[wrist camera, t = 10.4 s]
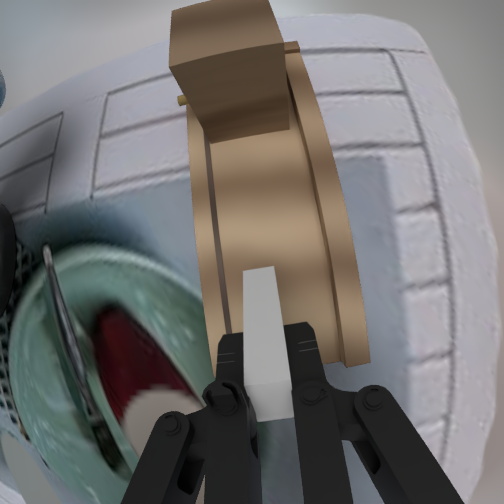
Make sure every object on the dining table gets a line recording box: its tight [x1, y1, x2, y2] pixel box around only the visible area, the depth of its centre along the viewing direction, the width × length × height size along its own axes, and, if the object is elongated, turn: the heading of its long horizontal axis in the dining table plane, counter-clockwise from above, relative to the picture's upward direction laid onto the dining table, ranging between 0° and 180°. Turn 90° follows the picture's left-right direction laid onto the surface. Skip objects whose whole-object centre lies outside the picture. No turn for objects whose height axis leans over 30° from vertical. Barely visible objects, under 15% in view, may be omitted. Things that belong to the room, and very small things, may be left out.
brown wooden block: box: [169, 0, 290, 144], centre depth 18 cm, size 6×8×9 cm
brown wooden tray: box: [186, 41, 370, 377], centre depth 20 cm, size 24×10×4 cm, turn 8°
